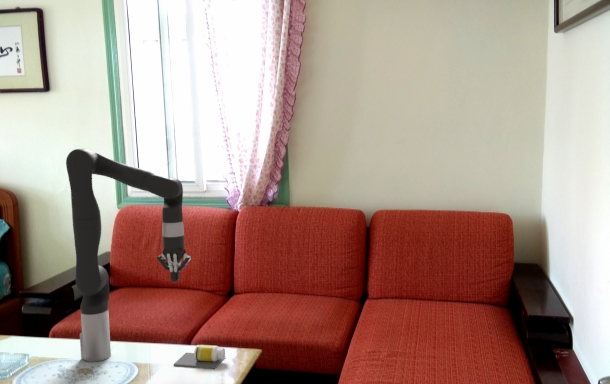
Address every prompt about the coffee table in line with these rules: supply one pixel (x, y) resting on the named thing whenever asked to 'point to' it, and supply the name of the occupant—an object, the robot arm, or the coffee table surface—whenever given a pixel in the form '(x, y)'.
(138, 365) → the coffee table surface
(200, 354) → the supplement bottle
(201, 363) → the rubber mat
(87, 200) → the robot arm
